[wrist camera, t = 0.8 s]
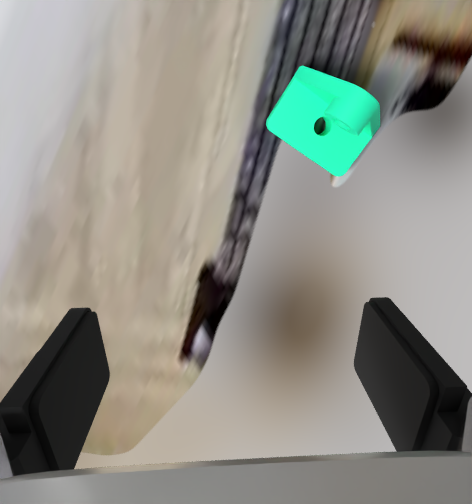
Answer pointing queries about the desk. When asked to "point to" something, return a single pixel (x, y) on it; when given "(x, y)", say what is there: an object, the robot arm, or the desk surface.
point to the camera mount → (332, 111)
